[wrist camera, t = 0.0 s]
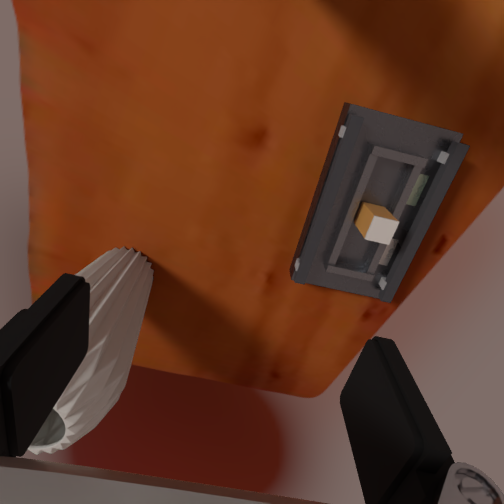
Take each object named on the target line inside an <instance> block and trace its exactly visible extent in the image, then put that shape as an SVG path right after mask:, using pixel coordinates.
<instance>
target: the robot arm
mask: <svg viewBox="0 0 504 504" xmlns="http://www.w3.org/2000/svg"><path fill="white" fill-rule="evenodd" d="M89 313H90V283H88V282H85V278H84V277H82V276H77V275H72V274H67V273H65V274H63V275H62V276H61V277H60V278H59V279H58V280H57V281H56V282H55V283H54V284H53V285H52V286H51V287H50V288H49V289H48V290H47V291H46V292H45V293H44V294H43V295H42V296H41V297H40V298H39V299H38V300H37V301H36V302H35V303H34V304H33V305H32V306H31V307H30V308H29V309H23V310H21V311H20V312H18V313H17V314H16V315H15V316H14V317H13V318H12V319H11V320H10V321H9V322H8V323H7V324H6V325H5V326H4V327H3V328H2V329H0V504H327V503H321V502H315V501H309V500H302V499H296V498H290V497H284V496H277V495H271V494H264V493H258V492H252V491H245V490H238V489H232V488H226V487H219V486H213V485H206V484H200V483H193V482H187V481H180V480H174V479H167V478H160V477H153V476H146V475H140V474H133V473H127V472H119V471H113V470H106V469H100V468H93V467H86V466H79V465H71V464H63V463H56V462H48V461H41V460H33V459H26V458H16V456H19V457H21V456H23V455H24V454H25V452H26V451H27V449H28V448H29V446H30V445H31V443H32V441H33V440H34V438H35V437H36V435H37V433H38V432H39V430H40V429H41V427H42V425H43V424H44V422H45V421H46V419H47V417H48V416H49V414H50V412H51V411H52V409H53V408H54V406H55V404H56V403H57V401H58V400H59V398H60V396H61V395H62V393H63V392H64V390H65V388H66V387H67V385H68V384H69V382H70V380H71V379H72V377H73V376H74V374H75V372H76V371H77V369H78V368H79V366H80V364H81V363H82V361H83V360H84V358H85V356H86V354H87V351H88V346H89ZM340 405H341V409H342V413H343V416H344V421H345V424H346V429H347V432H348V437H349V440H350V444H351V448H352V452H353V456H354V460H355V464H356V468H357V472H358V476H359V480H360V484H361V487H362V492H363V496H364V500H365V503H366V504H504V495H503V493H502V492H501V490H500V489H499V487H498V486H497V485H496V484H495V483H494V482H493V480H492V479H491V478H489V477H488V476H487V475H486V474H485V473H483V472H482V471H481V470H479V469H477V468H476V467H474V466H472V465H469V464H467V463H461V462H457V463H455V462H454V460H453V458H452V456H451V454H452V452H451V450H450V448H449V446H448V444H447V442H446V440H445V438H444V436H443V434H442V432H441V431H440V429H439V427H438V425H437V423H436V421H435V419H434V417H433V415H432V414H431V411H430V409H429V407H428V406H427V404H426V402H425V400H424V398H423V396H422V394H421V392H420V390H419V388H418V386H417V385H416V383H415V381H414V379H413V377H412V375H411V373H410V371H409V369H408V367H407V365H406V363H405V361H404V359H403V358H402V356H401V354H400V352H399V350H398V348H397V346H396V344H395V342H394V341H393V340H391V339H387V338H382V337H377V336H375V337H374V338H373V339H372V340H371V339H369V340H368V341H367V342H366V344H365V346H364V348H363V350H362V352H361V354H360V356H359V358H358V360H357V362H356V364H355V366H354V368H353V370H352V372H351V374H350V376H349V378H348V380H347V382H346V384H345V386H344V388H343V390H342V392H341V395H340Z"/></svg>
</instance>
